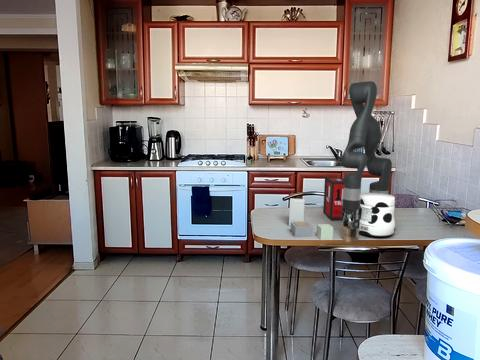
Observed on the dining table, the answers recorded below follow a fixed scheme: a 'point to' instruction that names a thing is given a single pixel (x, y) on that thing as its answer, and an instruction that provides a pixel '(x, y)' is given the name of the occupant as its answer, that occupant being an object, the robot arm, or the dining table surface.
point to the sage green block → (324, 232)
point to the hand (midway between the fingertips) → (349, 234)
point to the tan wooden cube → (349, 234)
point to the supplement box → (296, 210)
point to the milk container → (377, 214)
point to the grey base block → (301, 229)
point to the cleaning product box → (333, 198)
